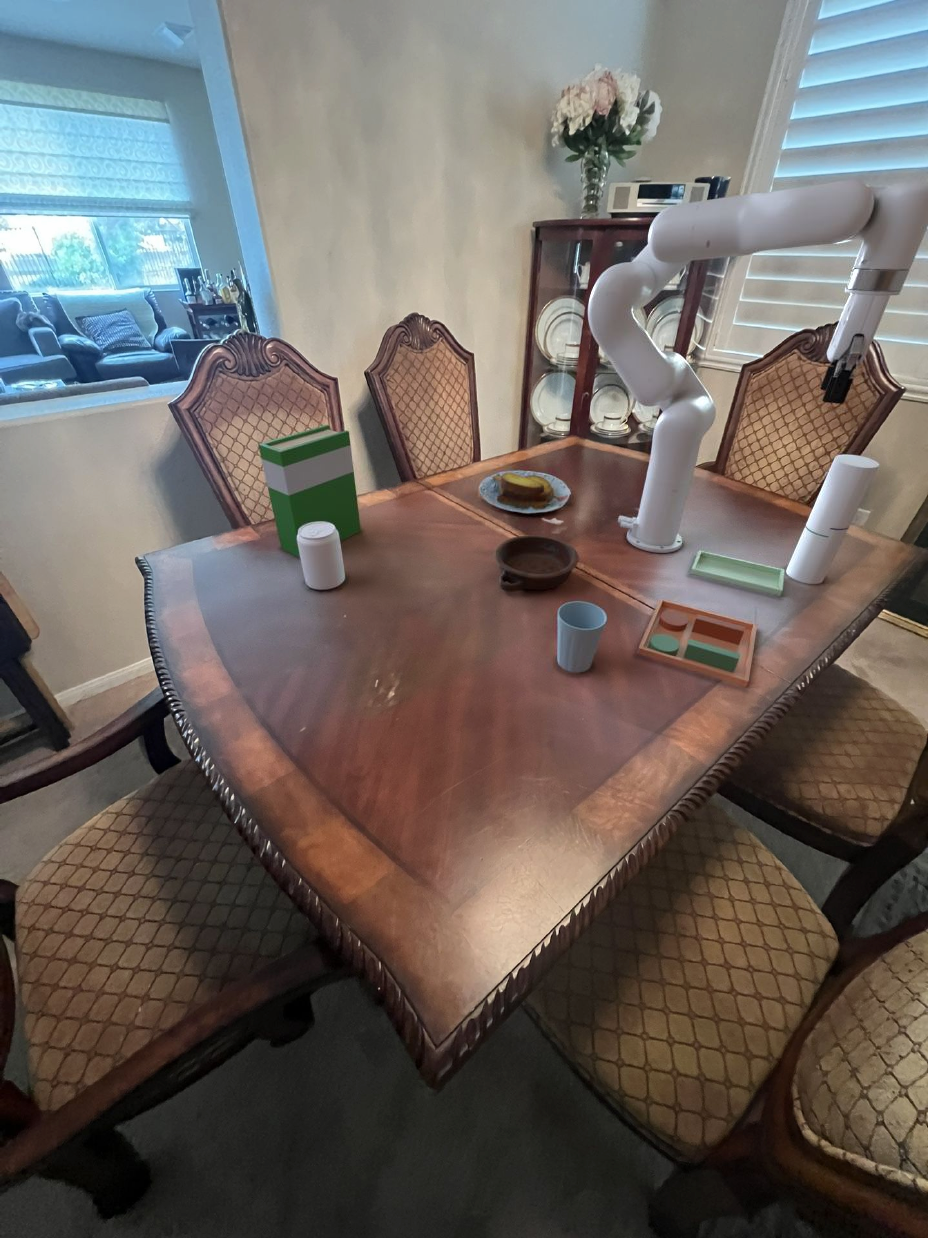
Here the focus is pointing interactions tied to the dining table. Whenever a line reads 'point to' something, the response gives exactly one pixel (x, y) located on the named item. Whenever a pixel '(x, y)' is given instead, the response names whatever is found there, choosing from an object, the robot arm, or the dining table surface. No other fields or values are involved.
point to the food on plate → (524, 491)
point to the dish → (534, 562)
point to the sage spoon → (697, 652)
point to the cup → (579, 634)
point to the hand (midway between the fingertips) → (830, 396)
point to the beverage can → (321, 555)
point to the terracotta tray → (683, 637)
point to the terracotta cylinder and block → (703, 626)
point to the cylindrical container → (831, 517)
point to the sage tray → (739, 573)
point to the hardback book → (311, 483)
